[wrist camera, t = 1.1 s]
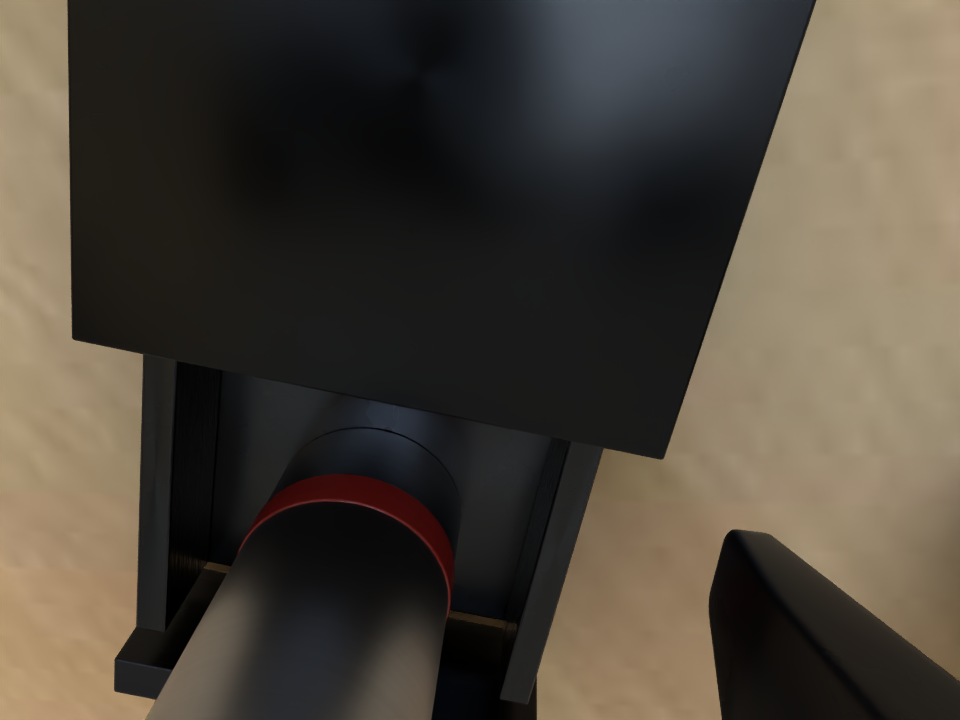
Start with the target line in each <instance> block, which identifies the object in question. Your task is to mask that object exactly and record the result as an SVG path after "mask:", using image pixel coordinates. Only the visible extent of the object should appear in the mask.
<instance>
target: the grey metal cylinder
mask: <svg viewBox="0 0 960 720" xmlns="http://www.w3.org/2000/svg"><path fill="white" fill-rule="evenodd" d="M460 524H461V505H460V499H459V495H458V492H457V489H456V487H455V485H454V483H453V480H452V478H451V477H450V475H449V474H448V472H447V471H446V469H445V468H444V467H443V466H442V464H441V463H440V462H439V461H438V460H437V459H436V458H435V457H434V456H433V455H432V454H431V453H429V452H428V451H427V450H426V449H424V448H423V447H421V446H420V445H418V444H417V443H415V442H413V441H411V440H409V439H407V438H405V437H402V436H400V435H397V434H394V433H391V432H387V431H383V430H376V429H366V428H355V429H345V430H341V431H336V432H332V433H329V434H327V435H324V436H321V437H320V438H318V439H316V440H314V441H312V442H310V443H309V444H308V445H306V446H305V447H303V448H302V449H301V450H300V451H299V452H298V453H297V454H296V455H295V456H294V457H293V459H292V460H291V461H290V463H289V464H288V466H287V468H286V469H285V471H284V473H283V475H282V477H281V478H280V480H279V482H278V484H277V485H276V487H275V489H274V491H273V493H272V494H271V496H270V498H269V500H268V501H267V503H266V504H265V505H264V507H263V508H262V509H261V511H260V512H259V513H258V515H257V517H256V519H255V520H254V522H253V524H252V526H251V528H250V529H249V531H248V533H247V535H246V536H245V538H244V540H243V542H242V544H241V545H240V547H239V550H238V553H237V556H236V559H235V560H234V562H233V564H232V566H231V567H230V569H229V571H228V573H227V575H226V576H225V578H224V580H223V582H222V584H221V585H220V587H219V589H218V591H217V592H216V594H215V596H214V598H213V600H212V601H211V603H210V605H209V607H208V609H207V610H206V612H205V614H204V616H203V617H202V619H201V621H200V623H199V625H198V626H197V628H196V630H195V632H194V633H193V635H192V637H191V639H190V641H189V642H188V644H187V646H186V648H185V650H184V651H183V653H182V655H181V657H180V658H179V660H178V662H177V664H176V666H175V667H174V669H173V671H172V673H171V675H170V676H169V678H168V680H167V682H166V683H165V685H164V687H163V689H162V691H161V692H160V694H159V696H158V698H157V699H156V701H155V703H154V705H153V707H152V708H151V710H150V712H149V714H148V716H147V717H146V719H145V720H431V718H432V711H433V704H434V698H435V691H436V684H437V678H438V671H439V664H440V658H441V651H442V644H443V638H444V631H445V624H446V621H447V618H448V615H449V611H450V605H451V598H452V591H453V584H454V577H455V557H456V551H457V544H458V537H459V531H460Z"/></svg>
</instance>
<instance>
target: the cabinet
mask: <svg viewBox="0 0 960 720" xmlns="http://www.w3.org/2000/svg"><path fill="white" fill-rule="evenodd" d="M815 3H816V0H68V74H69V149H70V225H71V300H72V338H73V339H74V340H77V341H82V342H86V343H91V344H96V345H101V346H106V347H111V348H116V349H121V350H126V351H131V352H136V353H140V354H145V355H150V356H155V357H160V358H165V359H170V360H175V361H180V362H185V363H189V364H194V365H199V366H204V367H209V368H214V369H219V370H224V371H229V372H234V373H239V374H243V375H248V376H253V377H258V378H263V379H268V380H273V381H278V382H283V383H288V384H292V385H297V386H302V387H307V388H312V389H317V390H322V391H327V392H332V393H337V394H342V395H346V396H351V397H356V398H361V399H366V400H371V401H376V402H381V403H386V404H391V405H396V406H400V407H405V408H410V409H415V410H420V411H425V412H430V413H435V414H440V415H445V416H449V417H454V418H459V419H464V420H469V421H474V422H479V423H484V424H489V425H494V426H499V427H503V428H508V429H513V430H518V431H523V432H528V433H533V434H538V435H543V436H548V437H553V438H557V439H562V440H567V441H572V442H577V443H582V444H587V445H592V446H597V447H602V448H606V449H611V450H616V451H621V452H626V453H631V454H636V455H641V456H646V457H651V458H656V459H660V460H661V459H663V458H664V457H665V454H666V451H667V448H668V445H669V442H670V439H671V436H672V433H673V430H674V427H675V424H676V421H677V418H678V415H679V412H680V409H681V406H682V403H683V400H684V397H685V394H686V391H687V388H688V385H689V382H690V379H691V376H692V373H693V370H694V367H695V364H696V361H697V358H698V355H699V352H700V349H701V346H702V343H703V340H704V337H705V334H706V331H707V328H708V325H709V322H710V319H711V316H712V313H713V310H714V307H715V304H716V301H717V298H718V295H719V292H720V289H721V286H722V283H723V280H724V277H725V274H726V271H727V268H728V265H729V262H730V259H731V256H732V253H733V250H734V247H735V244H736V241H737V238H738V235H739V232H740V229H741V226H742V222H743V219H744V216H745V213H746V210H747V207H748V204H749V201H750V198H751V195H752V192H753V189H754V186H755V183H756V180H757V177H758V174H759V171H760V168H761V165H762V162H763V159H764V156H765V153H766V150H767V147H768V144H769V141H770V138H771V135H772V132H773V129H774V126H775V123H776V120H777V117H778V114H779V111H780V108H781V105H782V102H783V99H784V96H785V93H786V90H787V87H788V84H789V81H790V78H791V75H792V72H793V69H794V66H795V63H796V60H797V57H798V54H799V51H800V48H801V45H802V42H803V39H804V36H805V33H806V30H807V27H808V24H809V21H810V18H811V15H812V12H813V9H814V6H815Z"/></svg>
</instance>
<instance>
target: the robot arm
mask: <svg viewBox="0 0 960 720" xmlns="http://www.w3.org/2000/svg"><path fill="white" fill-rule="evenodd" d="M709 619H710V627H711V635H712V643H713V651H714V659H715V668H716V676H717V684H718V692H719V700H720V708H721V716H722V720H960V682H959V681H958V680H957V679H956V678H954V677H953V676H952V675H950V674H949V673H948V672H947V671H945V670H944V669H943V668H941V667H940V666H939V665H938V664H936V663H935V662H934V661H932V660H931V659H930V658H929V657H927V656H926V655H925V654H923V653H922V652H921V651H920V650H918V649H917V648H916V647H914V646H913V645H912V644H911V643H909V642H908V641H907V640H905V639H904V638H903V637H902V636H900V635H899V634H898V633H896V632H895V631H894V630H893V629H891V628H890V627H889V626H887V625H886V624H885V623H884V622H882V621H881V620H880V619H878V618H877V617H876V616H875V615H873V614H872V613H871V612H869V611H868V610H867V609H866V608H864V607H863V606H862V605H860V604H859V603H858V602H856V601H855V600H854V599H853V598H851V597H850V596H849V595H847V594H846V593H845V592H844V591H842V590H841V589H840V588H838V587H837V586H836V585H835V584H833V583H832V582H831V581H829V580H828V579H827V578H826V577H824V576H823V575H822V574H820V573H819V572H818V571H817V570H815V569H814V568H813V567H811V566H810V565H809V564H808V563H806V562H805V561H804V560H802V559H801V558H800V557H799V556H797V555H796V554H795V553H793V552H792V551H791V550H790V549H788V548H787V547H786V546H784V545H783V544H782V543H781V542H779V541H778V540H777V539H775V538H774V537H773V536H771V535H770V534H767V533H763V532H754V531H746V530H731V531H730V532H729V533H728V534H727V535H726V537H725V539H724V542H723V545H722V549H721V552H720V556H719V560H718V564H717V568H716V571H715V575H714V579H713V583H712V586H711V591H710V596H709Z"/></svg>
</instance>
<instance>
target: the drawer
mask: <svg viewBox="0 0 960 720" xmlns="http://www.w3.org/2000/svg"><path fill="white" fill-rule="evenodd" d="M355 428H366V429H376V430H383V431H387V432H391V433H394V434H397V435H400V436H402V437H405V438H407V439H409V440H411V441H413V442H415V443H417V444H418V445H420V446H421V447H423V448H424V449H426V450H427V451H428V452H429V453H431V454H432V455H433V456H434V457H435V458H436V459H437V460H438V461H439V462H440V463H441V464H442V466H443V467H444V468H445V469H446V471H447V472H448V474H449V475H450V477H451V478H452V480H453V483H454V485H455V487H456V489H457V492H458V495H459V499H460V505H461V524H460V531H459V537H458V544H457V551H456V557H455V577H454V584H453V591H452V598H451V605H450V610H453V611H458V612H463V613H468V614H473V615H478V616H483V617H488V618H493V619H498V620H503V628H498V627H493V626H488V625H483V624H478V623H473V622H468V621H463V620H458V619H453V618H447V621H446V624H445V631H444V638H443V644H442V651H441V658H440V664H439V671H438V678H437V684H436V691H435V698H434V704H433V711H432V718H431V720H537V672H538V669H539V665H540V662H541V659H542V655H543V652H544V648H545V645H546V642H547V638H548V635H549V631H550V628H551V625H552V621H553V618H554V615H555V611H556V608H557V604H558V601H559V598H560V594H561V591H562V588H563V584H564V581H565V577H566V574H567V571H568V567H569V564H570V560H571V557H572V554H573V550H574V547H575V544H576V540H577V537H578V533H579V530H580V527H581V523H582V520H583V517H584V513H585V510H586V506H587V503H588V500H589V496H590V493H591V489H592V486H593V483H594V479H595V476H596V473H597V469H598V466H599V462H600V459H601V456H602V452H603V449H604V448H602V447H597V446H592V445H587V444H582V443H577V442H572V441H567V440H562V439H557V438H553V437H548V436H543V435H538V434H533V433H528V432H523V431H518V430H513V429H508V428H503V427H499V426H494V425H489V424H484V423H479V422H474V421H469V420H464V419H459V418H454V417H449V416H445V415H440V414H435V413H430V412H425V411H420V410H415V409H410V408H405V407H400V406H396V405H391V404H386V403H381V402H376V401H371V400H366V399H361V398H356V397H351V396H346V395H342V394H337V393H332V392H327V391H322V390H317V389H312V388H307V387H302V386H297V385H292V384H288V383H283V382H278V381H273V380H268V379H263V378H258V377H253V376H248V375H243V374H239V373H234V372H229V371H224V370H219V369H214V368H209V367H204V366H199V365H194V364H189V363H185V362H180V361H175V360H170V359H165V358H160V357H155V356H150V355H145V354H143V387H142V425H141V464H140V502H139V541H138V579H137V617H136V628H135V629H134V631H133V632H132V634H131V635H130V637H129V638H128V640H127V641H126V643H125V644H124V646H123V648H122V649H121V651H120V652H119V654H118V655H117V657H116V658H115V672H114V691H115V692H120V693H125V694H130V695H135V696H140V697H145V698H150V699H155V700H156V699H157V698H158V696H159V694H160V692H161V691H162V689H163V687H164V685H165V683H166V682H167V680H168V678H169V676H170V675H171V673H172V671H173V669H174V667H175V666H176V664H177V662H178V660H179V658H180V657H181V655H182V653H183V651H184V650H185V648H186V646H187V644H188V642H189V641H190V639H191V637H192V635H193V633H194V632H195V630H196V628H197V626H198V625H199V623H200V621H201V619H202V617H203V616H204V614H205V612H206V610H207V609H208V607H209V605H210V603H211V601H212V600H213V598H214V596H215V594H216V592H217V591H218V589H219V587H220V585H221V584H222V582H223V580H224V578H225V576H226V575H227V573H222V572H217V571H212V570H207V569H204V567H205V565H206V564H207V562H213V563H218V564H223V565H228V566H232V564H233V562H234V560H235V559H236V556H237V553H238V550H239V547H240V545H241V544H242V542H243V540H244V538H245V536H246V535H247V533H248V531H249V529H250V528H251V526H252V524H253V522H254V520H255V519H256V517H257V515H258V513H259V512H260V511H261V509H262V508H263V507H264V505H265V504H266V503H267V501H268V500H269V498H270V496H271V494H272V493H273V491H274V489H275V487H276V485H277V484H278V482H279V480H280V478H281V477H282V475H283V473H284V471H285V469H286V468H287V466H288V464H289V463H290V461H291V460H292V459H293V457H294V456H295V455H296V454H297V453H298V452H299V451H300V450H301V449H302V448H303V447H305V446H306V445H308V444H309V443H310V442H312V441H314V440H316V439H318V438H320V437H321V436H324V435H327V434H329V433H332V432H336V431H341V430H345V429H355Z"/></svg>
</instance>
